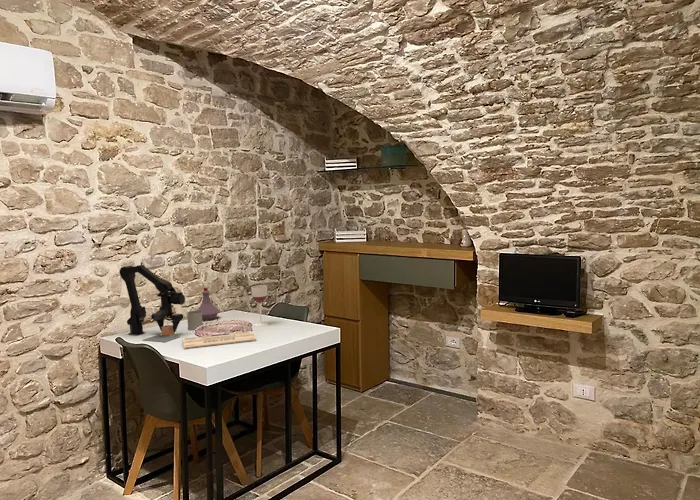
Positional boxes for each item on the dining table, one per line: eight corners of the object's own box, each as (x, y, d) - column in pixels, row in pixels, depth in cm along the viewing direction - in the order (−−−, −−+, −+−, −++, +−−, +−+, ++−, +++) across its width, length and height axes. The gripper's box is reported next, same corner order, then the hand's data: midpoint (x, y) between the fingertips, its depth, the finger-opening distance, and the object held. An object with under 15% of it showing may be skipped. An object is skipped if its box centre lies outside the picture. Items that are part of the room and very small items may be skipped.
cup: (198, 330, 321) (197, 313, 320) (185, 330, 323) (184, 313, 322) (205, 327, 329) (204, 310, 329) (192, 327, 331) (191, 310, 330)
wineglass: (272, 323, 334) (270, 285, 332) (261, 326, 326) (259, 288, 324) (260, 321, 339) (259, 284, 337) (249, 325, 331) (247, 287, 329)
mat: (142, 340, 302) (142, 339, 302) (157, 335, 313) (157, 334, 313) (164, 342, 296) (164, 341, 296) (180, 337, 307) (180, 336, 307)
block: (162, 335, 313) (161, 326, 312) (168, 333, 317) (167, 324, 317) (168, 336, 311) (168, 327, 310) (175, 334, 315) (174, 325, 315)
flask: (225, 316, 358) (223, 286, 356) (210, 322, 343) (208, 290, 341) (204, 315, 364) (202, 285, 362) (188, 321, 349) (186, 289, 347)
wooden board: (250, 334, 309) (250, 329, 309) (256, 342, 291) (256, 337, 291) (182, 342, 297) (182, 337, 297) (184, 351, 279) (183, 345, 279)
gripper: (143, 306, 309) (145, 333, 310) (169, 307, 301) (171, 335, 303) (157, 302, 319) (159, 329, 320) (183, 304, 311) (184, 331, 313)
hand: (168, 331), depth 314 cm, fingers open, 9 cm apart
